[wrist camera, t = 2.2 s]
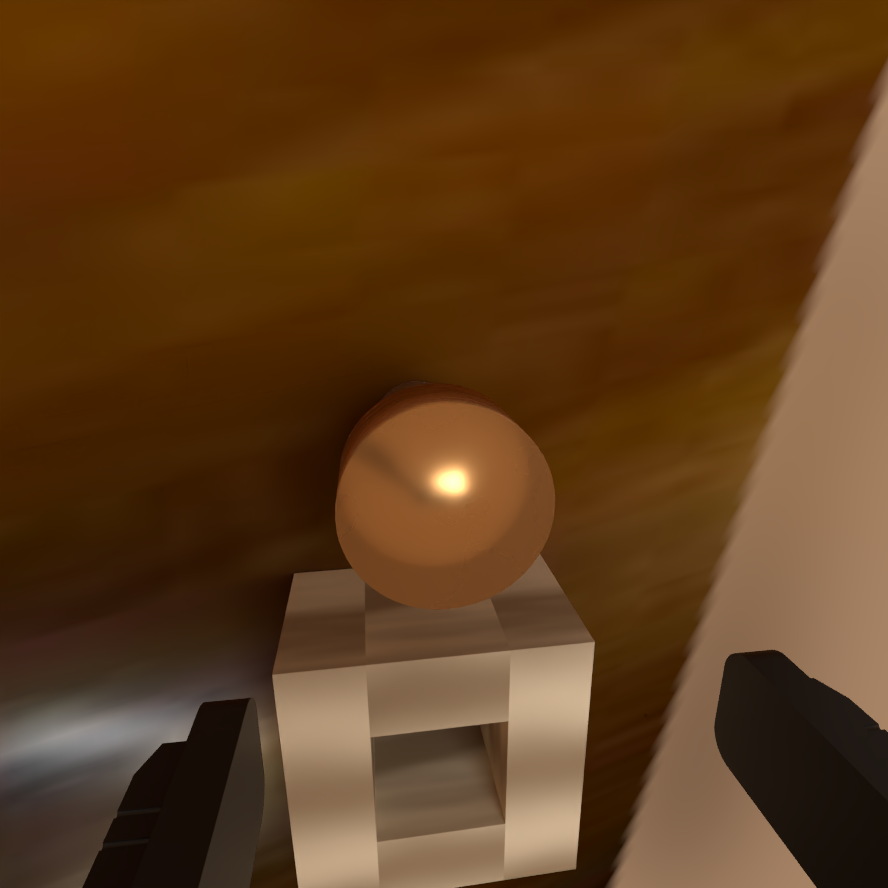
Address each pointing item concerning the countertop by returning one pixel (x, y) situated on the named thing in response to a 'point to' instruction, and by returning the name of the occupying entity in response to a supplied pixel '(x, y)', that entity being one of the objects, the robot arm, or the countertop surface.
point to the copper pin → (441, 497)
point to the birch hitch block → (431, 733)
